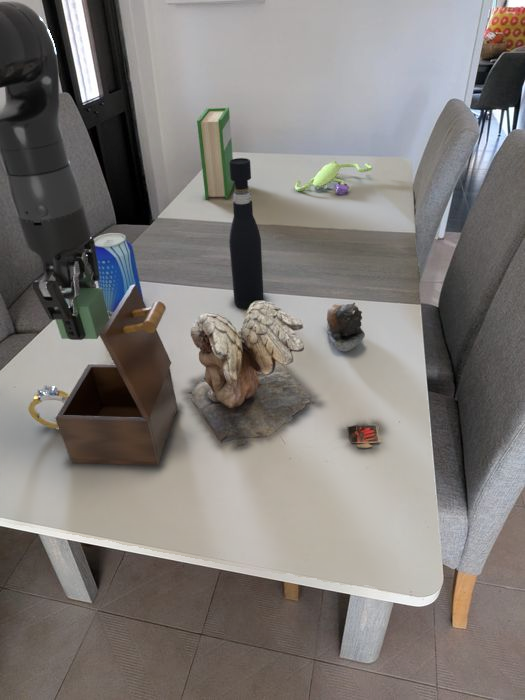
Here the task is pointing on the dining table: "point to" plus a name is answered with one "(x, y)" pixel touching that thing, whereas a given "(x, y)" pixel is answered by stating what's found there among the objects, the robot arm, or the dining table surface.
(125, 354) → the lid
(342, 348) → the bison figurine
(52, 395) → the ring
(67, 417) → the chest
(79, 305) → the block
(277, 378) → the cherub figurine
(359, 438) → the matchbox
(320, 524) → the dining table surface
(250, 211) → the black bottle
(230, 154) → the hardback book
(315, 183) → the figurine
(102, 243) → the beer can
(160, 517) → the dining table surface
